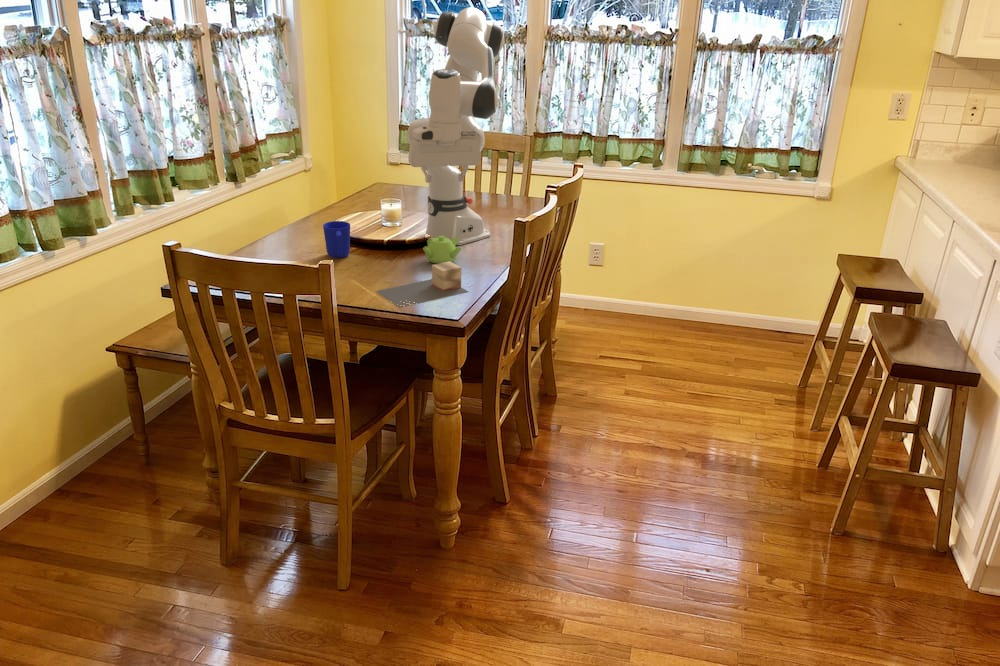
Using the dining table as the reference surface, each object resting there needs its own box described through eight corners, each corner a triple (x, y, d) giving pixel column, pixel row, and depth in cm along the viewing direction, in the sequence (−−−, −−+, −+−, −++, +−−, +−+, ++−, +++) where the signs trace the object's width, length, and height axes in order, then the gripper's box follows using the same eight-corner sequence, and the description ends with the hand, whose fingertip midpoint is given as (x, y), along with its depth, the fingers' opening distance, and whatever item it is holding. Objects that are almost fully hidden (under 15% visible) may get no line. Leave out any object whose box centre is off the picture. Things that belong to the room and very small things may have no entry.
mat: (442, 278, 235) (442, 276, 235) (468, 293, 225) (468, 291, 225) (375, 292, 224) (375, 291, 223) (399, 309, 213) (399, 307, 213)
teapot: (423, 256, 252) (422, 230, 249) (459, 256, 253) (459, 230, 250) (423, 268, 242) (422, 242, 239) (461, 268, 243) (461, 242, 240)
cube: (449, 280, 232) (449, 261, 230) (461, 287, 228) (461, 267, 225) (432, 284, 229) (431, 264, 227) (443, 291, 225) (443, 271, 222)
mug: (327, 264, 243) (325, 233, 239) (324, 252, 254) (322, 221, 249) (354, 263, 245) (352, 231, 241) (350, 250, 256) (348, 220, 251)
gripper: (477, 129, 227) (476, 178, 232) (406, 130, 220) (407, 180, 226) (484, 133, 221) (483, 182, 227) (412, 134, 215) (412, 185, 220)
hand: (444, 181), depth 226 cm, fingers open, 8 cm apart
